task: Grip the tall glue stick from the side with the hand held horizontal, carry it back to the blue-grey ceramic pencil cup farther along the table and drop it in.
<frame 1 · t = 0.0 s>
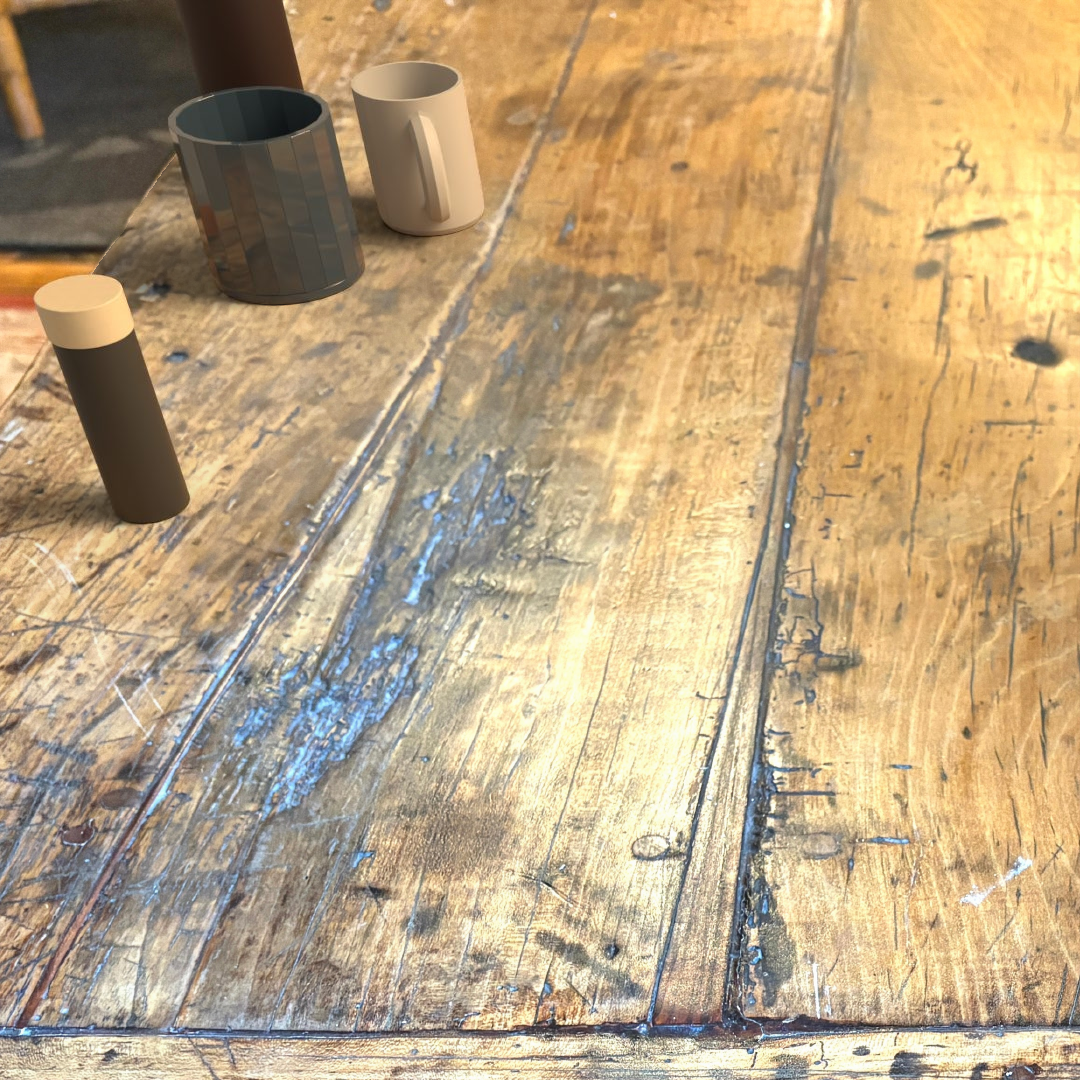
bottle: (276, 181, 130), on the table
pencil cup: (290, 272, 120), on the table
cup: (437, 226, 125), on the table
glue stick: (152, 504, 99), on the table
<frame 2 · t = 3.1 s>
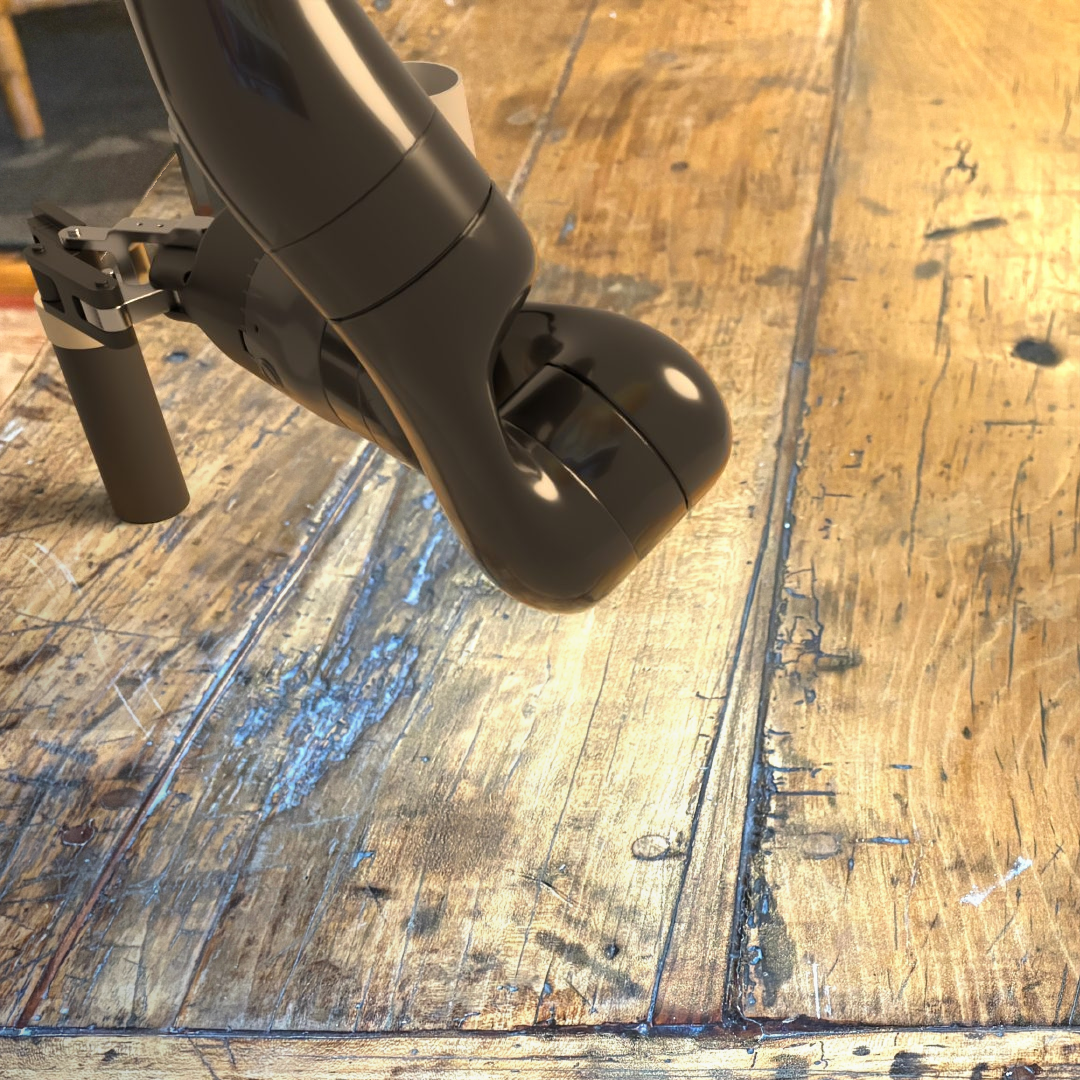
hand: (138, 197, 80), 20 cm above the table, tool horizontal, fingers open, 8 cm apart
nothing on the table moved.
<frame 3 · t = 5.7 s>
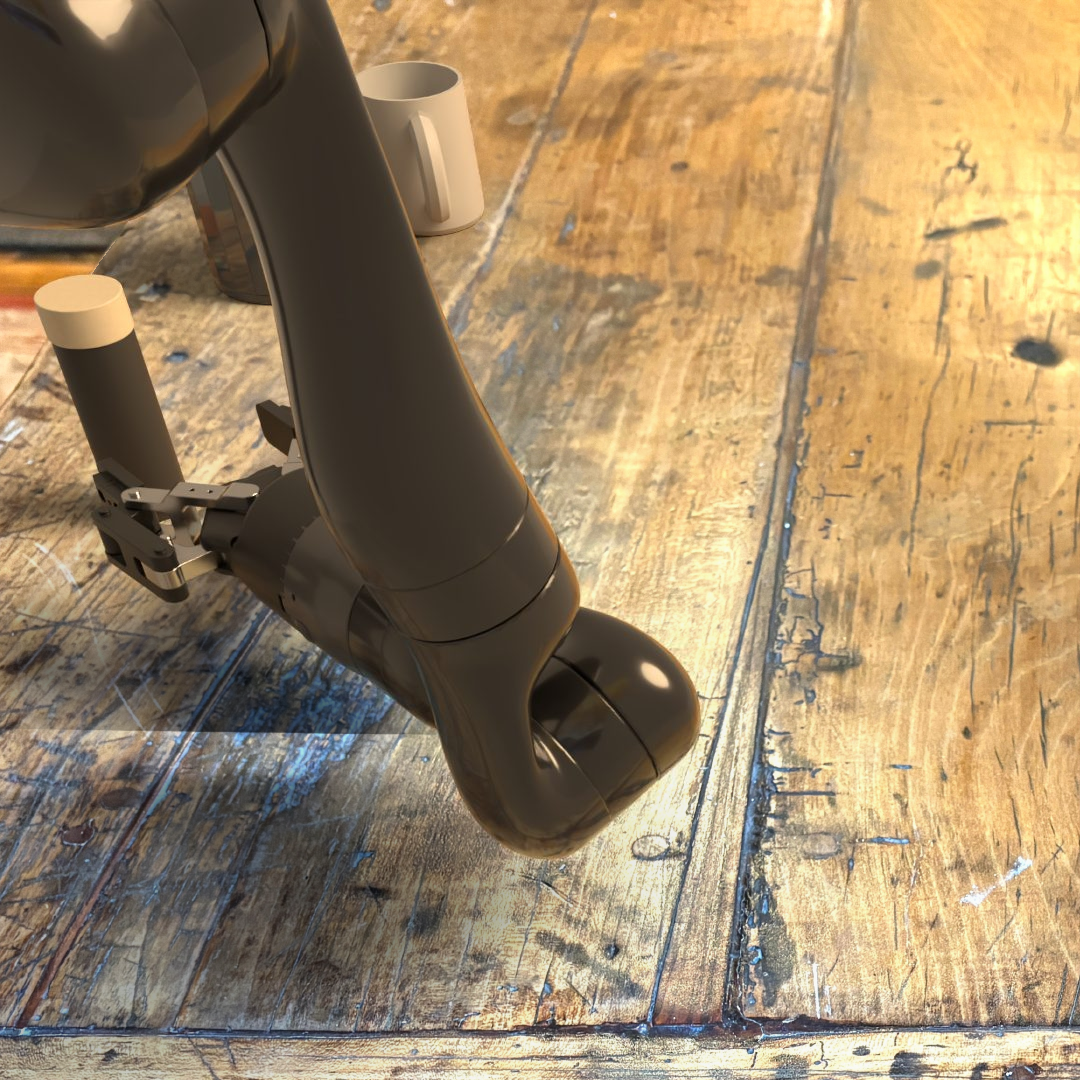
hand: (188, 447, 91), 7 cm above the table, tool horizontal, fingers open, 8 cm apart
nothing on the table moved.
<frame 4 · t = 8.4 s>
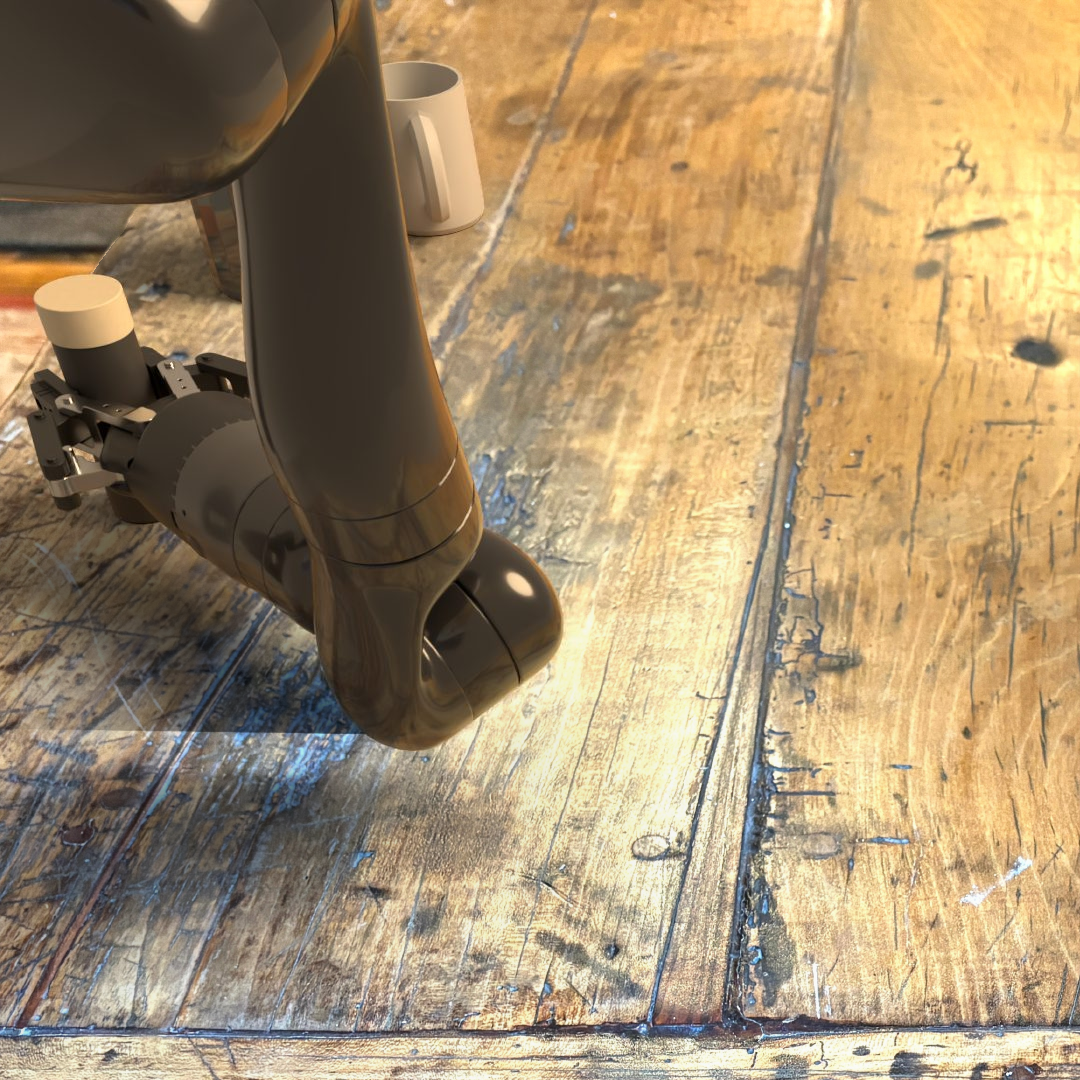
hand: (87, 374, 96), 7 cm above the table, tool horizontal, fingers closed on glue stick, 4 cm apart
glue stick: (151, 504, 99), on the table, touching gripper
everything else where it was.
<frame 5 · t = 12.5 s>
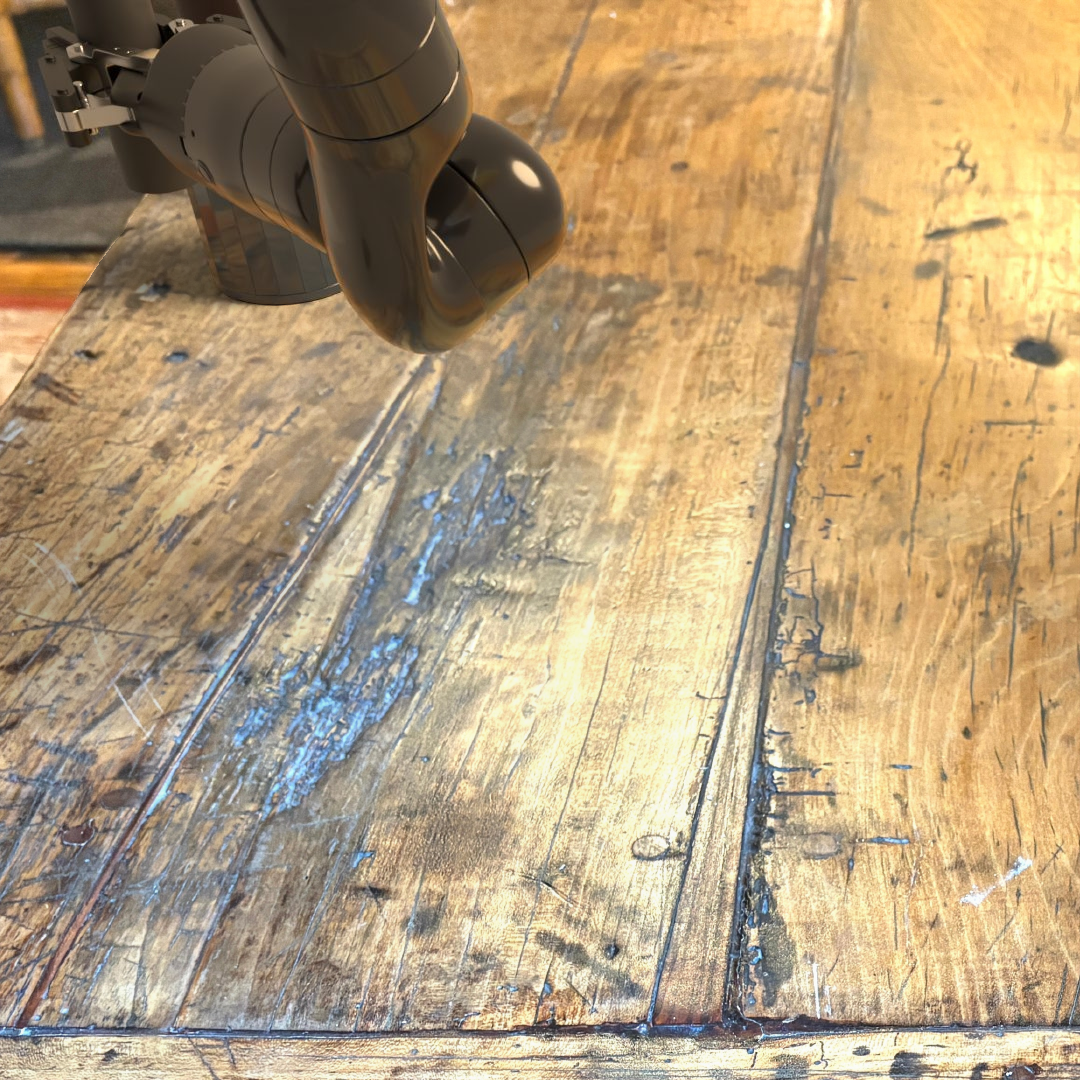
hand: (99, 38, 96), 19 cm above the table, tool horizontal, fingers closed on glue stick, 4 cm apart
glue stick: (163, 180, 100), point 12 cm above the table, touching gripper
everything else where it was.
when the fingers open (12 cm above the table, at t = 16.9 s): glue stick drops 4 cm, resting on pencil cup.
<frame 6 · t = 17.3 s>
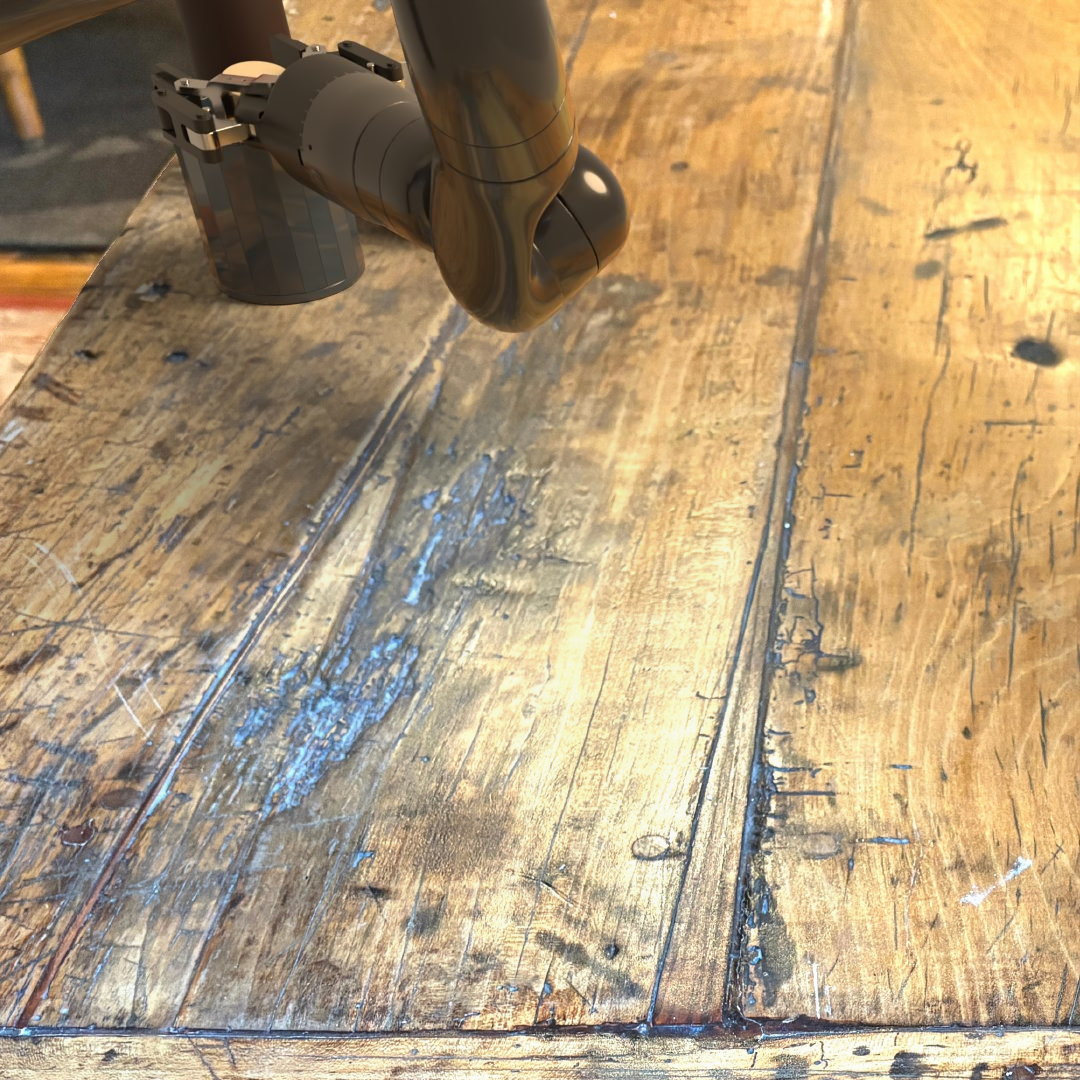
hand: (220, 66, 112), 12 cm above the table, tool horizontal, fingers open, 7 cm apart
glue stick: (288, 257, 119), point 1 cm above the table, tilted 12°, touching pencil cup
everything else where it was.
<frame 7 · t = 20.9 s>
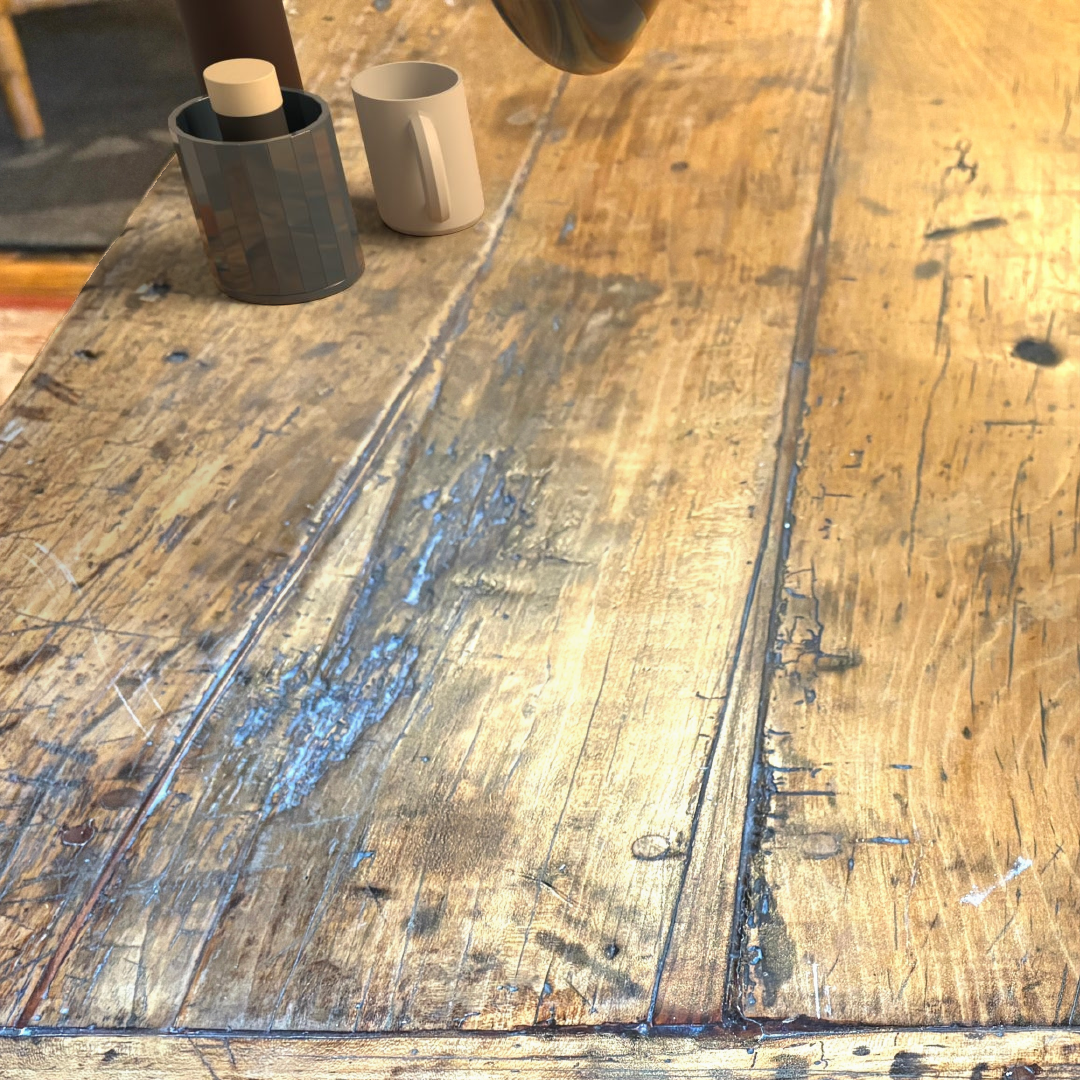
glue stick: (289, 263, 119), point 1 cm above the table, touching pencil cup
everything else where it was.
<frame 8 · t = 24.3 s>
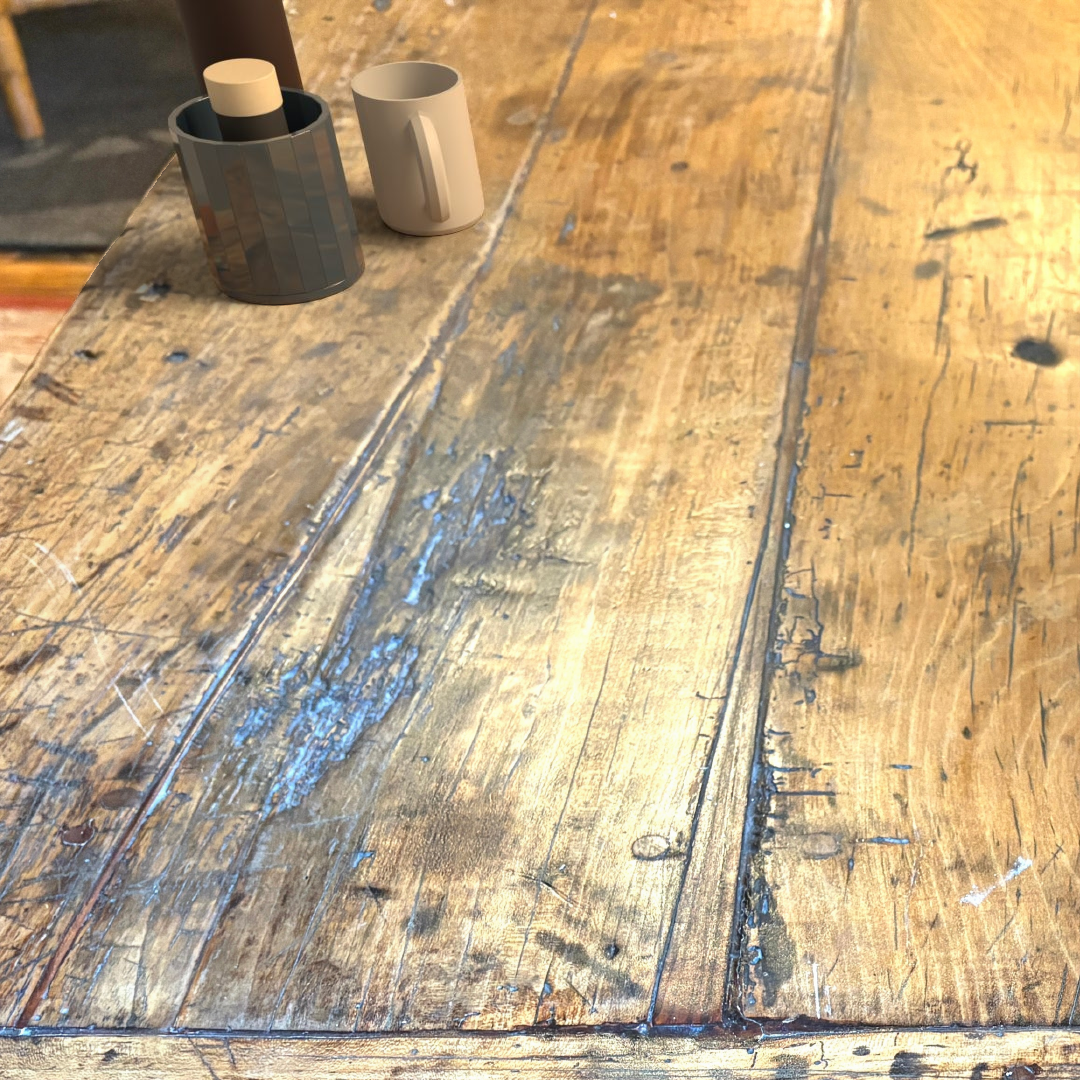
nothing on the table moved.
at the end: glue stick 0.1 cm off-centre in the pencil cup, point 0.6 cm above the pencil cup's base; the gripper is holding nothing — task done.
